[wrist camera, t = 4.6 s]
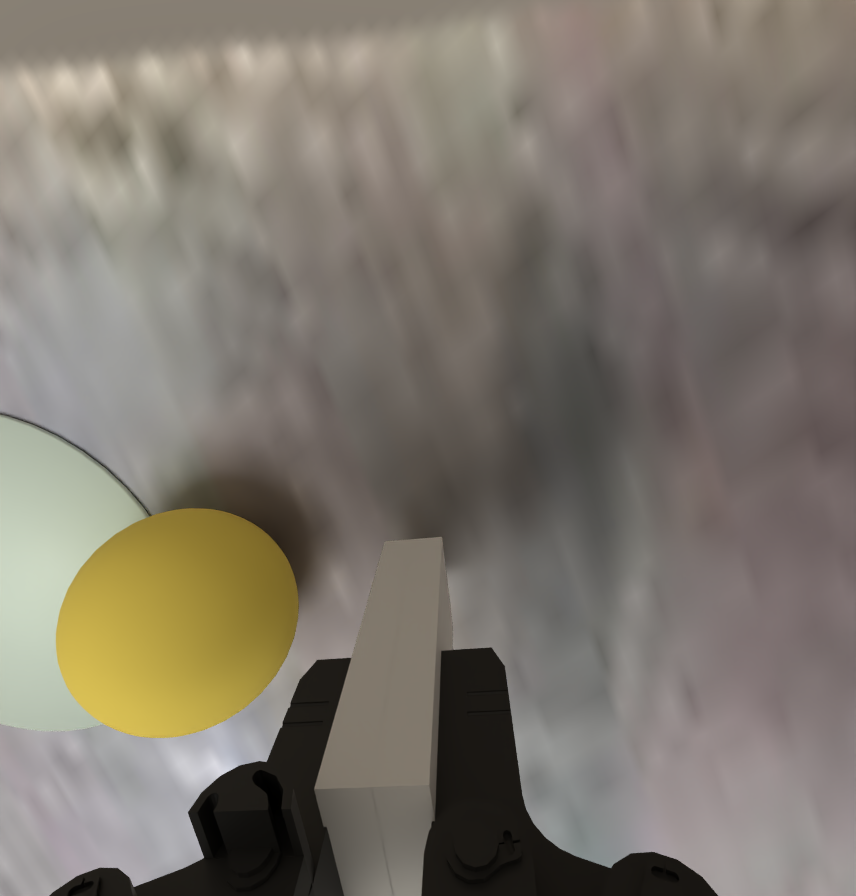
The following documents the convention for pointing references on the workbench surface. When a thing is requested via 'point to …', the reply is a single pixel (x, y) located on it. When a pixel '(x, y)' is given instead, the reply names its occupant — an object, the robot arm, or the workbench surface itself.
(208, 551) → the ball
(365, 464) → the workbench surface
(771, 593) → the workbench surface
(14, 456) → the mark
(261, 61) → the workbench surface
